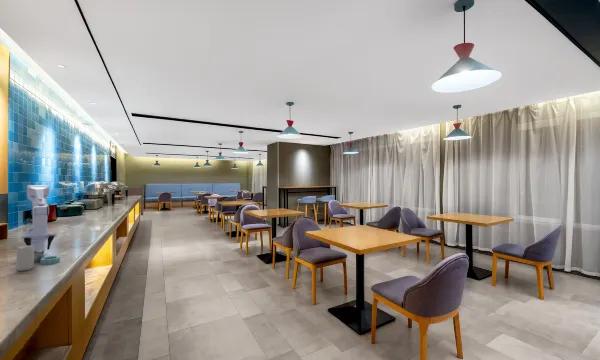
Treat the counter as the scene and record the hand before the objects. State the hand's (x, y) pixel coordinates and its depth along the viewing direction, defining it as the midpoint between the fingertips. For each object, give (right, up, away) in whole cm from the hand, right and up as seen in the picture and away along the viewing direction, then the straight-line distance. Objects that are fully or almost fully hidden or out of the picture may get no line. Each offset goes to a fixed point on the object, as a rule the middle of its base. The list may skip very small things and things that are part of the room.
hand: (39, 250), depth 151 cm
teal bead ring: (+7, -7, -1) cm, 10 cm away
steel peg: (0, -7, 0) cm, 7 cm away
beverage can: (+6, -7, -13) cm, 16 cm away
